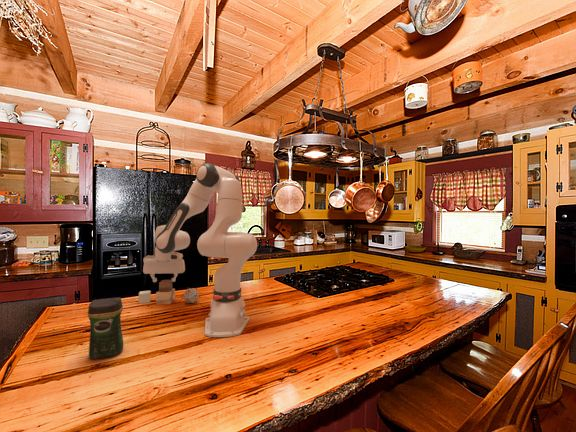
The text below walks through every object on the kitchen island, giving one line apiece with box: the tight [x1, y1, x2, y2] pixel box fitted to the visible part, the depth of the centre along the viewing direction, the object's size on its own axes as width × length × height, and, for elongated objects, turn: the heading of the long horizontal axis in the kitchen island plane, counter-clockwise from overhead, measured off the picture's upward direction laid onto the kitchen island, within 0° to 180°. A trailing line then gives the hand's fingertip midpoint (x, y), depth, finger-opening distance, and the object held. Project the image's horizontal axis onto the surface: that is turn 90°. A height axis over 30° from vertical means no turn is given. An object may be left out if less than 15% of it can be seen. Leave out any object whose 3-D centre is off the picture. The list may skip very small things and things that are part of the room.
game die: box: [181, 286, 200, 305], centre depth 140 cm, size 9×8×10 cm
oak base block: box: [155, 288, 176, 305], centre depth 142 cm, size 7×7×6 cm
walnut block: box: [158, 279, 173, 292], centre depth 142 cm, size 5×5×5 cm
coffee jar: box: [87, 296, 124, 360], centre depth 91 cm, size 10×8×19 cm
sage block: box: [138, 290, 152, 305], centre depth 142 cm, size 5×5×5 cm
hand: (164, 281), depth 141 cm, fingers open, 8 cm apart
